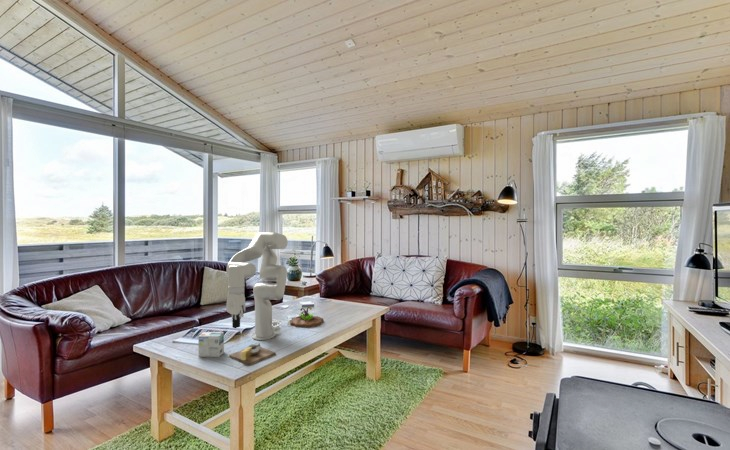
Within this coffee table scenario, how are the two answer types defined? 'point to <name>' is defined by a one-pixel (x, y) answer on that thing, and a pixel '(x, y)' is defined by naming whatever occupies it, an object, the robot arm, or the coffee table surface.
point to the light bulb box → (211, 344)
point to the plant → (306, 320)
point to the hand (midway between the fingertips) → (236, 327)
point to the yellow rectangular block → (250, 352)
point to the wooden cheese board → (254, 358)
